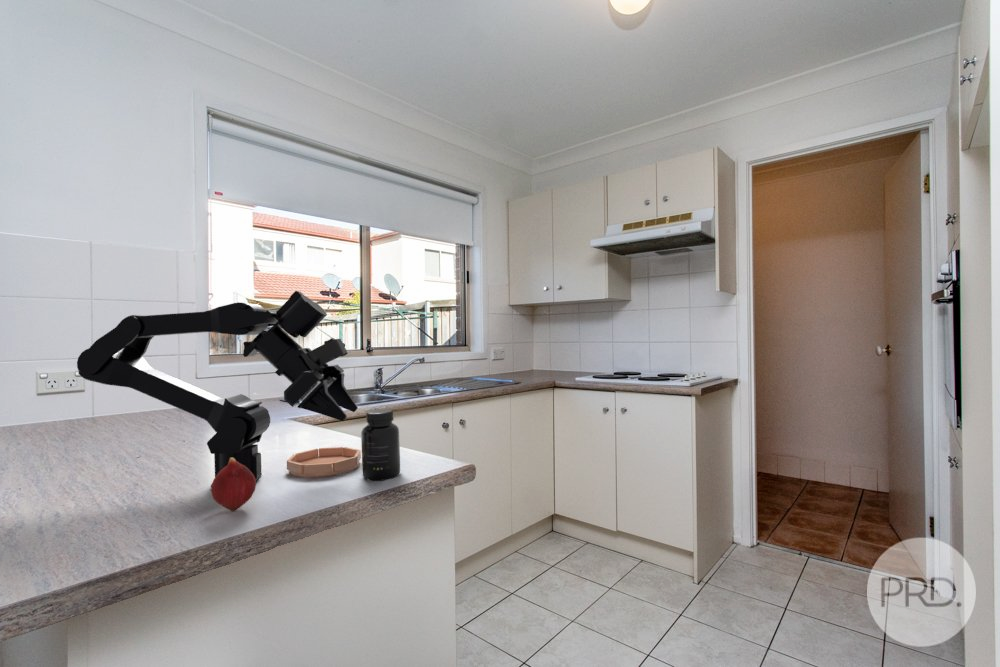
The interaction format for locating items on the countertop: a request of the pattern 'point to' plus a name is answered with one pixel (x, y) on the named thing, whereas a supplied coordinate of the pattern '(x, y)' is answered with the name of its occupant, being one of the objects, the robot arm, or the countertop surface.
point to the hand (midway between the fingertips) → (350, 414)
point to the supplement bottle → (380, 446)
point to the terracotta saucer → (323, 462)
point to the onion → (233, 485)
